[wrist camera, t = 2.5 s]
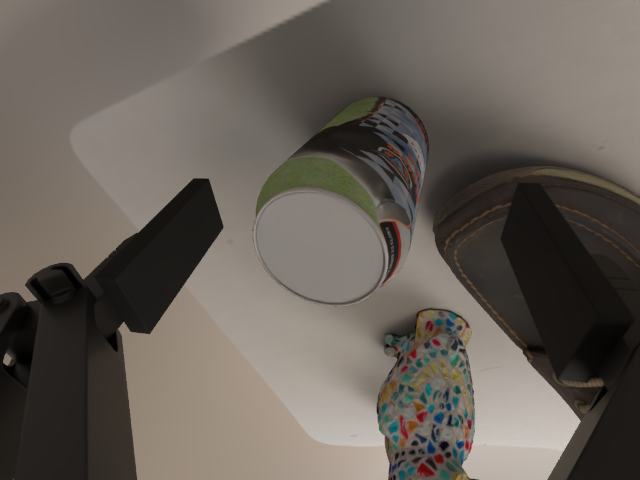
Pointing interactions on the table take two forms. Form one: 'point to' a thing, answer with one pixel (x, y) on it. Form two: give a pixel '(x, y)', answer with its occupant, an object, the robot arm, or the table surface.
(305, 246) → the beverage can
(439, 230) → the boat shoe
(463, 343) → the figurine
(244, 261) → the table surface
